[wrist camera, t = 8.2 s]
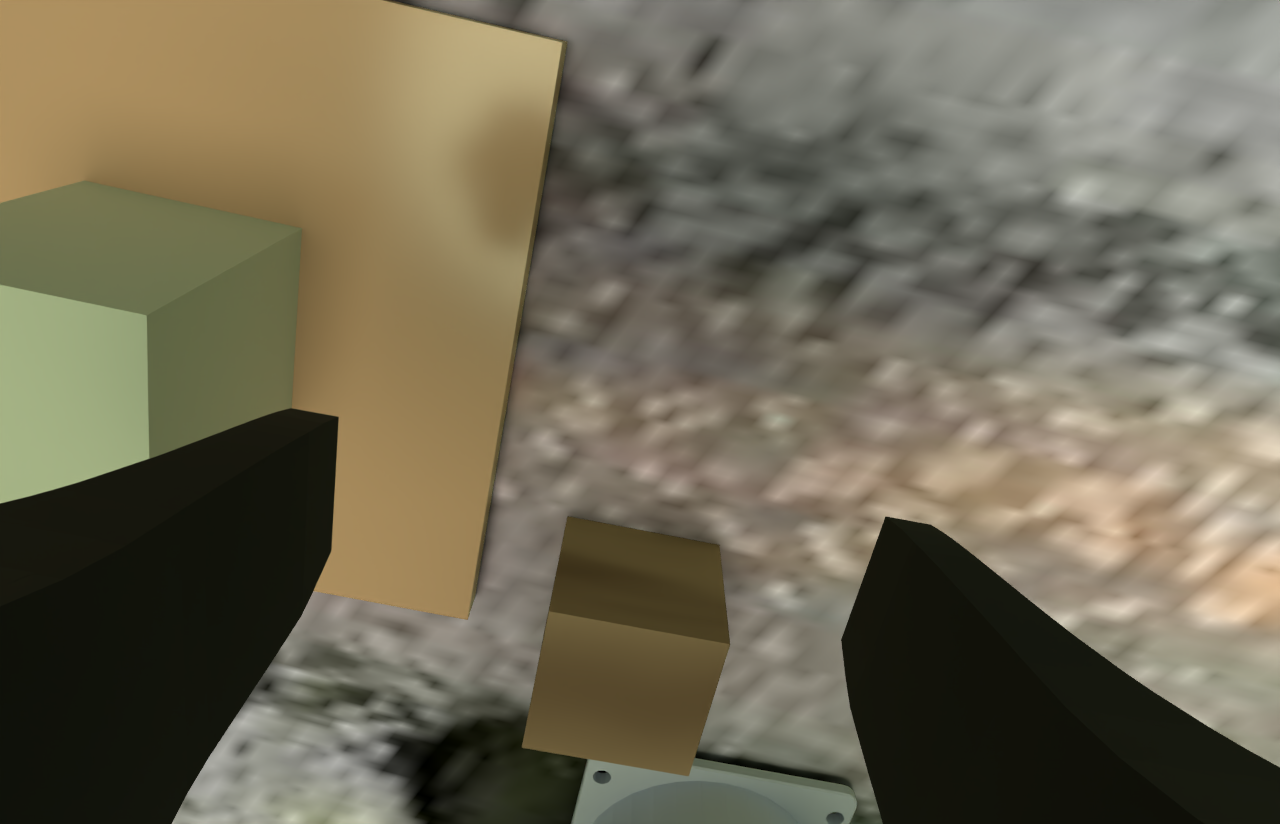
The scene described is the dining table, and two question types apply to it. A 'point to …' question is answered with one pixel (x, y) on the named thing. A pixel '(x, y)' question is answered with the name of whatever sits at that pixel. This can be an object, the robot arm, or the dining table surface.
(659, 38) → the dining table surface
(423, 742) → the dining table surface
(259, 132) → the tan flat square slab
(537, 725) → the walnut block
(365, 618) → the dining table surface
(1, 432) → the sage block
